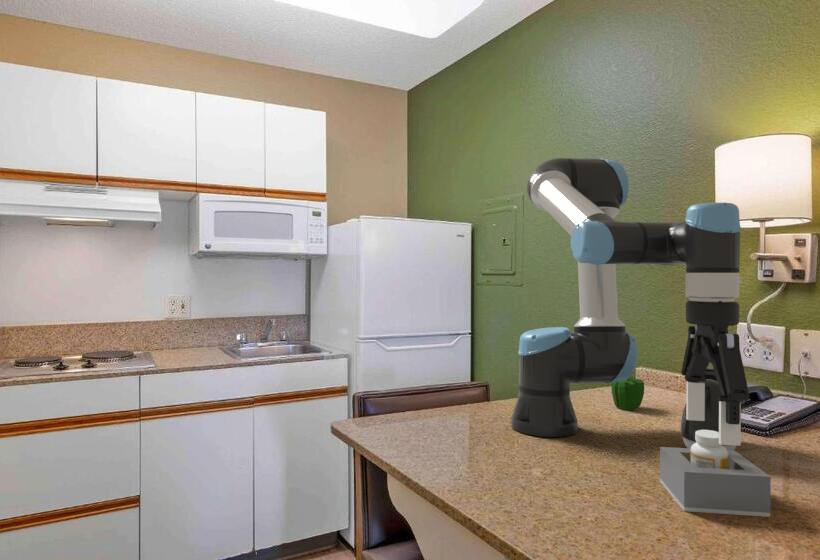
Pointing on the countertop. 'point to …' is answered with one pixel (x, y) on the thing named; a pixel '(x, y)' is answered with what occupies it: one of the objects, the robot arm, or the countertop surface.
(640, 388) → the bell pepper
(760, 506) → the well
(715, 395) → the pump dispenser
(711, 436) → the supplement bottle
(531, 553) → the countertop surface
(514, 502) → the countertop surface
